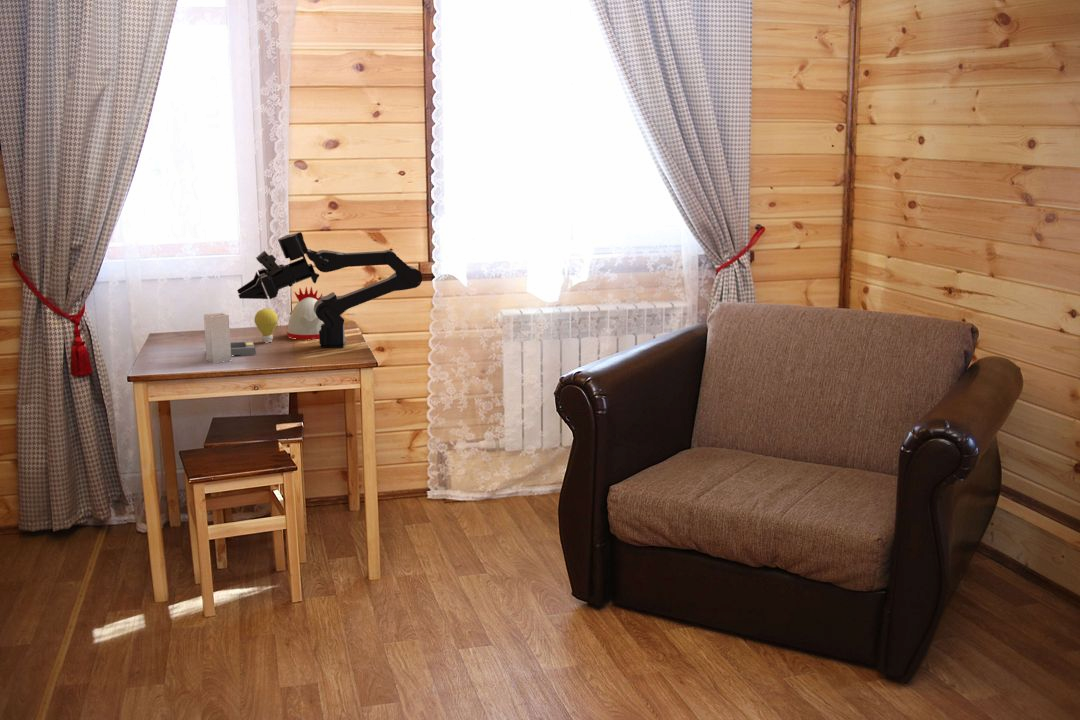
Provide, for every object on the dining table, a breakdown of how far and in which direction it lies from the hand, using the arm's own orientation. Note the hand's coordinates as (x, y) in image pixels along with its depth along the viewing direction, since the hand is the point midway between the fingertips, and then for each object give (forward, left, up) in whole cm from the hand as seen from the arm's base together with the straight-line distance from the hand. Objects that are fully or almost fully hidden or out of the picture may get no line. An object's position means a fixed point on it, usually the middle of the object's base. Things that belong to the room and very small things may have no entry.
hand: (238, 294), depth 295 cm
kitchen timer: (-16, -22, -17) cm, 32 cm away
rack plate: (+2, +2, -16) cm, 16 cm away
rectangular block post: (+3, +12, -16) cm, 20 cm away
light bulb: (-5, -12, -16) cm, 21 cm away
